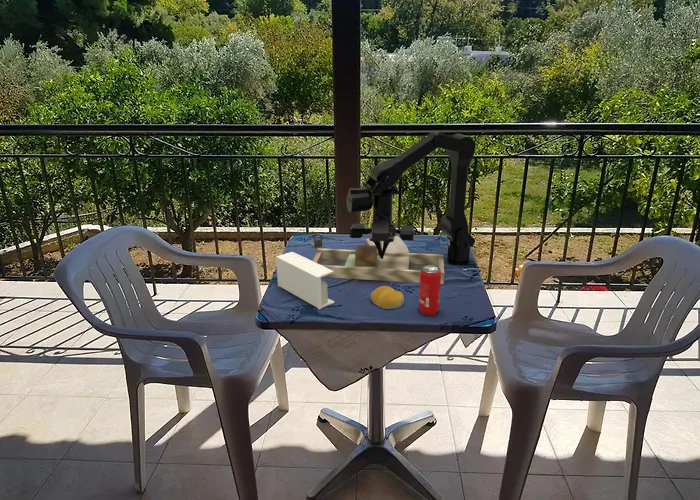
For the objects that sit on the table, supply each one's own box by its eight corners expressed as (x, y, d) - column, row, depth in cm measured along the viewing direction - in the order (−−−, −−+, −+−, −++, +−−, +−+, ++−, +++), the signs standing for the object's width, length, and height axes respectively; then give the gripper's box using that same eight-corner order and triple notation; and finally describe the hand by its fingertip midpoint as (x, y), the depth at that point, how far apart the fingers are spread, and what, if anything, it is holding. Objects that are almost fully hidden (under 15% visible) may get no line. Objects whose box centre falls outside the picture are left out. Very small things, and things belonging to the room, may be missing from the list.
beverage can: (416, 306, 134) (418, 265, 130) (435, 306, 135) (438, 264, 130) (420, 316, 129) (422, 273, 125) (440, 315, 130) (443, 272, 125)
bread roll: (389, 313, 131) (389, 299, 130) (365, 301, 138) (365, 288, 136) (411, 303, 136) (411, 290, 135) (387, 292, 143) (387, 279, 141)
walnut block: (377, 259, 158) (377, 245, 156) (375, 266, 152) (375, 252, 151) (357, 258, 159) (357, 244, 157) (355, 265, 153) (355, 251, 152)
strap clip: (309, 244, 178) (308, 233, 176) (317, 243, 179) (316, 231, 177) (319, 252, 171) (318, 240, 169) (327, 251, 172) (326, 239, 170)
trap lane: (442, 265, 160) (443, 254, 158) (443, 284, 147) (444, 273, 146) (317, 258, 165) (317, 248, 164) (308, 276, 152) (307, 265, 151)
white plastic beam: (334, 303, 137) (334, 271, 133) (318, 310, 133) (317, 277, 130) (291, 279, 150) (289, 250, 147) (275, 285, 147) (273, 255, 144)
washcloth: (376, 263, 162) (376, 254, 161) (364, 243, 179) (364, 235, 177) (412, 260, 164) (412, 252, 163) (396, 241, 181) (397, 233, 180)
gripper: (346, 216, 142) (347, 267, 148) (413, 218, 140) (411, 270, 146) (352, 205, 153) (352, 253, 158) (415, 207, 150) (413, 256, 156)
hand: (381, 258), depth 154 cm, fingers closed
